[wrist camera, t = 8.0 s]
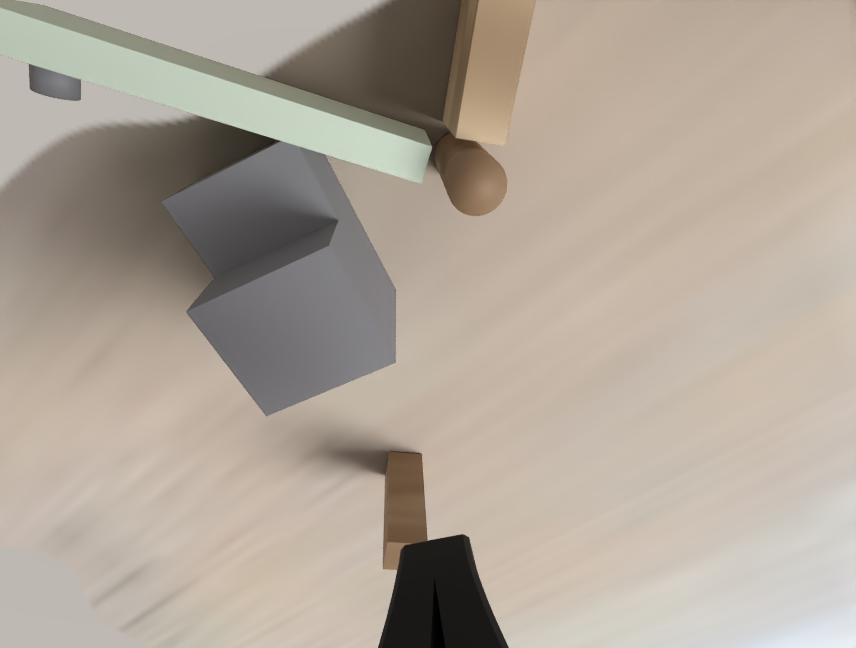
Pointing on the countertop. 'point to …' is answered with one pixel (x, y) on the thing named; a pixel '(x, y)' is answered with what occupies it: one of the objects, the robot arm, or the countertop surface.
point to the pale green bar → (201, 89)
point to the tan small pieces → (464, 191)
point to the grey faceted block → (286, 276)
